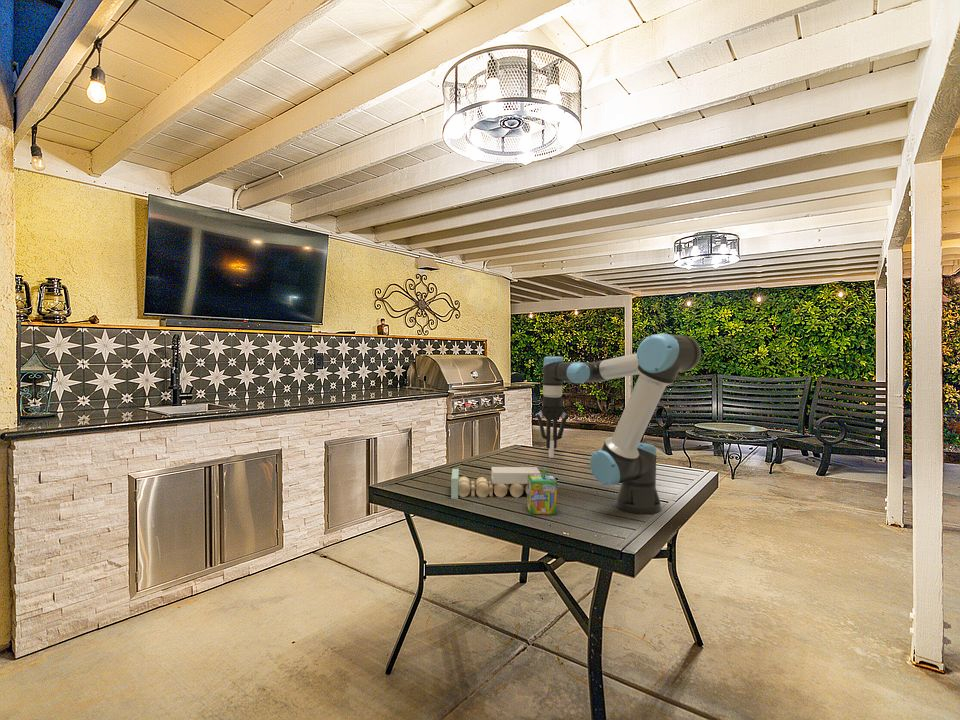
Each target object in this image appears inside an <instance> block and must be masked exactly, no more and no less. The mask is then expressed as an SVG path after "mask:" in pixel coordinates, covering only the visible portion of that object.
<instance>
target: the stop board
mask: <svg viewBox="0 0 960 720" xmlns="http://www.w3.org/2000/svg"><path fill="white" fill-rule="evenodd" d="M451 469H452V472H451V484H450V486H451V487H450V499H451V500H459V495H458V480H459V478H460V477H459V475H460V474H459V473H460V469H459V468H451Z"/></svg>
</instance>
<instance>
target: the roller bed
mask: <svg viewBox="0 0 960 720" xmlns="http://www.w3.org/2000/svg"><path fill="white" fill-rule="evenodd" d="M487 481H488V485H489V494H488V496H489V497H493V496H494V495H493V493H494V494H495V496H496V497H498V498H502V497H503V498H504V497H505V496H506V495H507V494H508V490H509V492H510V495H511V496H512V497H513V498H519V497H521V496H522V495H523V494H524V492H525V494H527V486H528V484H493V482H492V480H487ZM475 492H476V484H475V481H474V480H471V481H470V479H469V478H468V477H467V476H460V477H459V480H458V497H459V496H460V497H462V498H466V497H467V496H468V495H470V496H471V497H475ZM470 493H471V494H470Z"/></svg>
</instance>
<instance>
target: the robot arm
mask: <svg viewBox="0 0 960 720" xmlns="http://www.w3.org/2000/svg"><path fill="white" fill-rule="evenodd" d="M701 359H702V349H701V346H700V344H699V343H698V342H697V340H695V339H694V338H692V337H691V336H688V335H684V334H683V335H682V334H669V333H657V334H656V333H655V334H651V335H649V336H647V337H645V338H643V340H642V341H641V342H640V344H639V346H638V348H637V351H636V352H635V353H631V354H626V355H622V356H617V357H612V358H608V359H604V360H600V361H592V362H591V361H590V362H587V361H586V362H582V361H580V362H579V361H578V362H577V361H576V362H575V361H573V362H572V361H569V362H568V361H564V357H562V356H554V355H553V356H544V358H543V366H542V369H543V372H542V374H543V375H542V395H543V396H542V407H541V409H540V411H539V412H537V413H535V417H536V418H537V422H538V426H539V430H540V435H541V438H542V439H544V440H545V442H546V443H545V447H546V449H548V458H549V459H550V458H552V459H553V458H555V457H554V456H555V455H554V453H555V449H557V447H558V446H557V441H558V440H561V439H562V437H563V433H564V432H565V431H564V430H565V427H566V423H567V420H568V419H569V417H570V415H569V414H567V413H566V412H564V409H563V397H562V396H563V383H564V382H565V383H574V384H584V383H602V382H606V381H608V380H613V379H614V380H615V379H619V378H625V377H631V376H636V375H639V376H638V378H637V379H636V382H635V384H634V387H633V389H632V391H631V393H630V396H629V397H628V400H627V402H626V404H625V407H624V409H623V412H622V414H621V416H620V418H619V421H618V423H617V425H616V427H615V430H614V431H613V434H612V436H610V437H607V438H606V439H605V440H604V443H603V445H602V447H601V449H598V450H596V451H594V452H593V453H592V455H591V456H590V460H589V467H590V469H591V473H592V475H593V477H594V478H595V480H596V481H598V483H600V484H602V485H603V486H604V485H605V486H615V485H618V484H620V487H619V490H618V493H617V495H616V499H615V506H616V507H617V508H618V509H620V510H622V511H623V512H629V513H633V514H641V515H644V514H645V515H649V514H656V513H659V512H660V511H661V509H662V508H661V507H662V503H661V500H660V497H659V494H658V490H657V486H656V485H657V481H656V480H657V457H658V456H657V448H656V446H655V445H653V444H651V443H647V442H646V443H645V442H641V441H642V438H643V436H644V434H645V432H646V430H647V427H648V426H649V424H650V421H651V420H652V417H653V415H654V412H655V411H656V409H657V406H658V404H659V402H660V400H661V398H662V396H663V395H664V392H665V390H666V387H667V386H670V385H672V384H674V382H675V381H676V379H677V376H678V374H679V373H683V372H689V371H691V370H692V369H694V368H695V367H697V366H698V364H699V363H700V361H701ZM543 417H544V419H546V420H545V422H546V423H545V424H546V427H545V428H546V429H544V423H543V419H542V418H543ZM560 417H561V420H560V421H561V422H560V424H559V429H558V422H559V421H558V420H559V419H560ZM551 423H552V427H551ZM551 428H552V430H551ZM545 431H546V432H545ZM551 431H552V439H551Z"/></svg>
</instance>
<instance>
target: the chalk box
mask: <svg viewBox="0 0 960 720" xmlns="http://www.w3.org/2000/svg"><path fill="white" fill-rule="evenodd" d="M547 470H548V469H547V468H546V466H543V468H542V472H541V475H539V474H528V486H527V493H526V507H527V510H528V512H529V513H530V515H557V514H558V513H557V505H558V504H557V499H558V480H557V479H556V477H555V475H553V474H547Z"/></svg>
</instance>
